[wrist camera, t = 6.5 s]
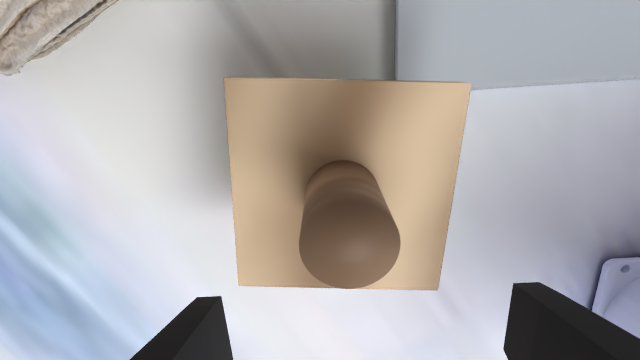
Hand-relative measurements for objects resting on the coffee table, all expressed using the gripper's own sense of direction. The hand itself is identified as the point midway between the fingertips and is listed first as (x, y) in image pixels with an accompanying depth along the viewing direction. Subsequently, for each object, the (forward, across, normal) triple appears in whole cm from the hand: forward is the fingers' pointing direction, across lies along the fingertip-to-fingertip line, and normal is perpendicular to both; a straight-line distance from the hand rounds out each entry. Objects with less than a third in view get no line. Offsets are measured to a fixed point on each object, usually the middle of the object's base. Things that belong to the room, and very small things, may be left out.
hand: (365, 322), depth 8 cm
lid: (+7, 0, -1) cm, 7 cm away
